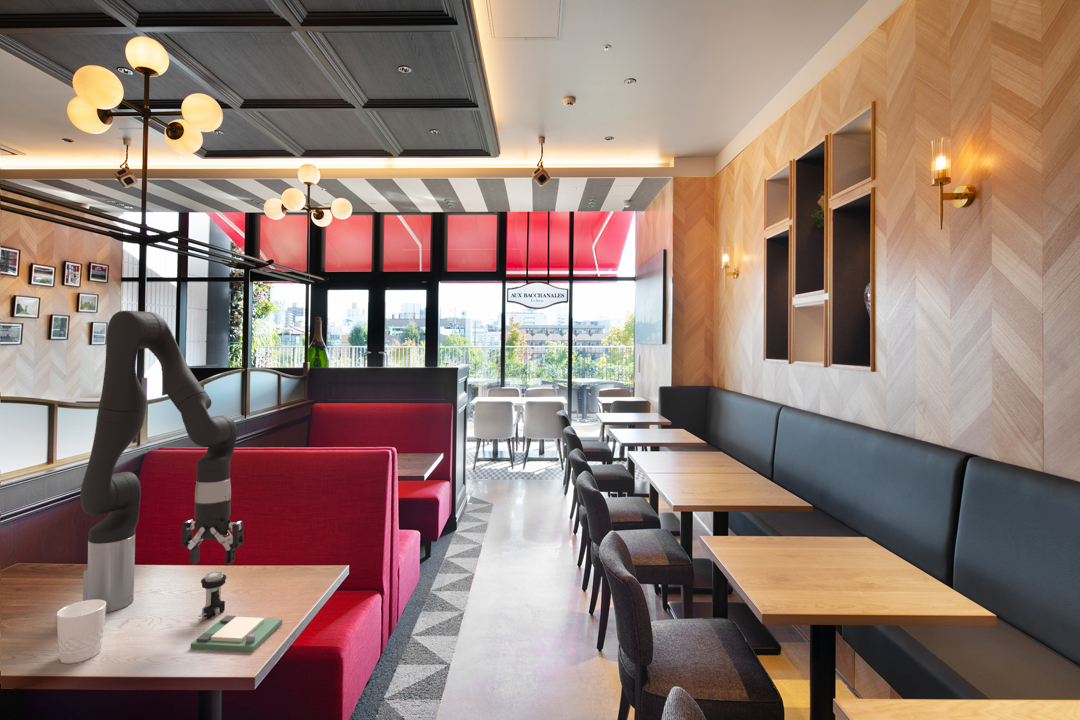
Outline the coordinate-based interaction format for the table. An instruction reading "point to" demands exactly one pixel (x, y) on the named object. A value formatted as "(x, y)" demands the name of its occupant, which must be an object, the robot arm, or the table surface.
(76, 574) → the table surface
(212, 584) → the push button
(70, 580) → the table surface
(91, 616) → the white cup
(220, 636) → the board
